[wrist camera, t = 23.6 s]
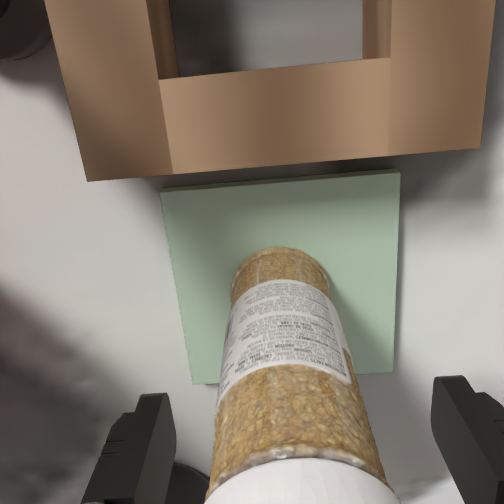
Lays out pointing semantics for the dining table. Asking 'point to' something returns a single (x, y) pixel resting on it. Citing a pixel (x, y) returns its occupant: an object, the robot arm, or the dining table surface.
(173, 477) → the supplement bottle
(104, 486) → the robot arm
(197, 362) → the green mat
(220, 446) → the sprinkles bottle
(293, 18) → the dining table surface
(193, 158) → the walnut dock
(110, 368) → the dining table surface
